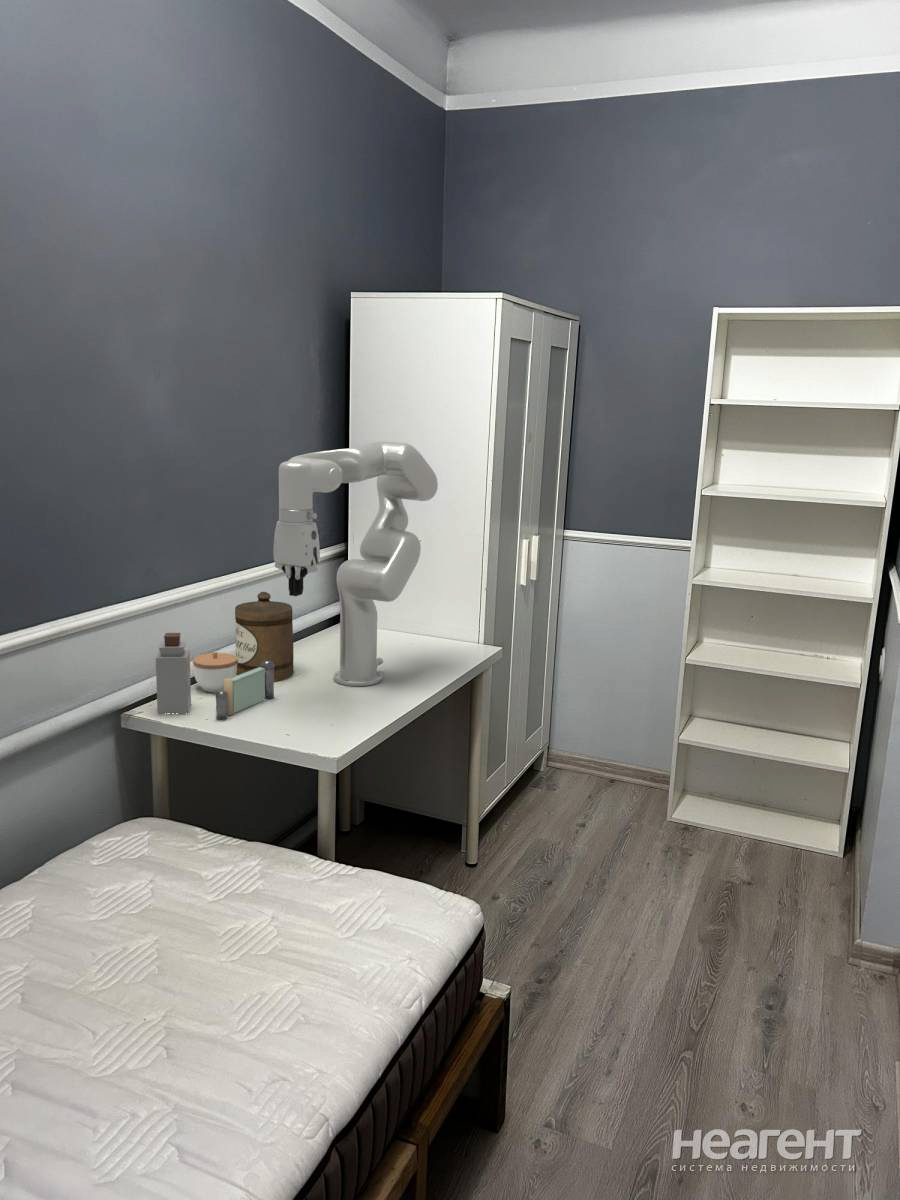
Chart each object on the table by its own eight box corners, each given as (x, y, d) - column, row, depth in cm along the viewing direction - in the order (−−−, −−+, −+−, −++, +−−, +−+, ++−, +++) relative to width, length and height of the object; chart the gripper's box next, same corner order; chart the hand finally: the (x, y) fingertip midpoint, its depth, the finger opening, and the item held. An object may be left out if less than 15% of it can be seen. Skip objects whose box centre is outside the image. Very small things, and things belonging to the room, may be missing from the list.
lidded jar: (207, 679, 239) (207, 644, 237) (245, 684, 236) (245, 649, 234) (185, 692, 229) (184, 655, 227) (224, 697, 226) (223, 660, 224)
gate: (259, 698, 226) (258, 665, 224) (265, 699, 225) (265, 666, 223) (222, 714, 214) (221, 680, 212) (229, 715, 213) (228, 681, 211)
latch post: (229, 709, 218) (228, 682, 216) (241, 712, 216) (241, 685, 215) (209, 718, 212) (209, 690, 210) (222, 721, 210) (222, 693, 209)
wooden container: (230, 668, 249) (229, 587, 244) (285, 663, 255) (285, 585, 250) (242, 685, 236) (241, 600, 231) (299, 679, 242) (299, 597, 237)
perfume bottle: (191, 704, 221) (189, 630, 217) (188, 714, 214) (186, 638, 210) (161, 705, 219) (158, 631, 215) (157, 714, 213) (154, 638, 209)
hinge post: (266, 694, 229) (265, 657, 227) (276, 696, 228) (276, 659, 226) (258, 698, 226) (257, 660, 224) (269, 700, 225) (268, 662, 223)
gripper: (332, 517, 213) (332, 595, 217) (276, 511, 219) (277, 588, 223) (315, 521, 206) (315, 602, 210) (258, 515, 212) (259, 594, 216)
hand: (295, 594), depth 217 cm, fingers closed
